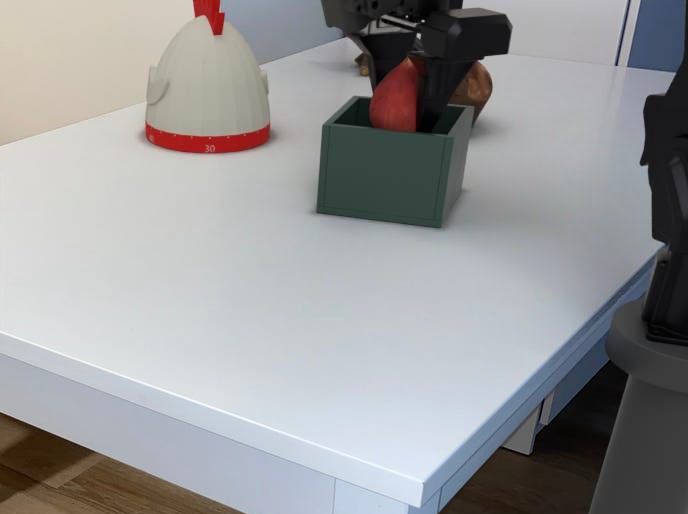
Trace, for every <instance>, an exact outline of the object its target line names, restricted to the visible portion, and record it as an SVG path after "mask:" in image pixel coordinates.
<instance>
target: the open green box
mask: <svg viewBox="0 0 688 514" xmlns="http://www.w3.org/2000/svg"><path fill="white" fill-rule="evenodd" d="M371 98H372V96H366V95H356V94H355V95H352V97H351V98H350V99H348V100H347V101H346V102H345V103H344V104H343V105H342V106H341V107H340V108H339V109H338V110H337V111H335V112H334V113H333V114H332V115H331V116H330V117H329V118H328V119H327V120H326V121H325V122H323V124H322V125H321V139H320V153H319V166H318V180H317V193H316V207H315V212H316V213H317V214H318V213H319V214H326V215H334V216H342V217H349V218H350V217H351V218H357V219H367V220H373V221H380V222H382V221H383V222H390V223H397V224H406V225H414V226H422V227H430V228H437V229H441V228H442V226H443V224H444V222H445V221H446V219H447V217H448V215H449V213H450V212H451V210H452V208H453V206H454V204H455V202H456V200H457V199H458V197H459V196H460V193H461V191H462V188H463V182H464V177H465V170H466V163H467V158H468V151H469V144H470V138H471V131H472V129H471V126H472V120H473V113H474V106H466V105H455V104H448V105H447V106H446V108H445V110H444V111H443V113H442V115H441V116H440V118H439V120H438V121H437V123H436V125H435V126H434V128H433V130H432V132H431V133H422V132H412V131H402V130H392V129H382V128H373V125H372V123H371V120H370V103H371Z"/></svg>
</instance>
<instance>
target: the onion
mask: <svg viewBox="0 0 688 514" xmlns="http://www.w3.org/2000/svg"><path fill="white" fill-rule="evenodd" d="M417 82H418V72H417V70H416V68H415V67H414V65H413V64H412V62H411V61H410V59H409V58H408V56H407V58H406V59H405V60H404V61H402V62H401V63H400V64H399V65H398V66H397V67H395V68H394V69H393V70H392V71H390V72H389V73H388V74H387V75H386V76H385V77H384V78H383V80H382V81H381V82H380V83H379V84H378V86H377V87H376V89H375V91H374V93H372V96H371V97H372V98H371V103H370V120H371V123H372V125H373V128H382V129H392V130H402V131H412V132H416V102H417Z"/></svg>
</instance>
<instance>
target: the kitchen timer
mask: <svg viewBox="0 0 688 514" xmlns="http://www.w3.org/2000/svg"><path fill="white" fill-rule="evenodd" d="M192 7H193V13H194V14H193V15H194V18H192V19H191V20H189V21H188V22H187V23H186V24H184V25H183V26H182V27H180V29H179V30H178V31H177V32H176V33H175V35H174V36H173V37H172V38H171V40H170V41H169V43H168V44H167V46H166V48H165V49H164V51H163V52H162V54H161V57H160V59H159V61H158V63H157V66H153V65H150V66H149V71H148V79H147V85H146V96H145V97H146V107H145V118H144V121H145V123H144V125H145V128H144V129H145V136H146V140H147V141H149V142H150V143H152V144H153V145H155V146H157V147H161V148H164V149H167V150H174V151H179V152H185V153H197V154H198V153H199V154H220V153H221V154H222V153H231V152H233V153H234V152H240V151H245V150H249V149H254V148H257V147H259V146H262V145H264V144H265V143H267V142H268V141H269V140H270V136H271V109H270V102H269V97H268V95H269V93H270V92H269V91H270V90H269V80H268V71H267V69H263V70H261V67H260V64H259V62H258V60H257V57H256V56H255V53H254V52H253V50H252V49H251V47H250V45H249V43H248V42H247V41H246V39H245V38H244V36H243V35H242V34H241V32H239V31H238V30H237V29H236V28H235V26H233V25H232V24H231V23H229V22H228V21H227V20H225V18H226V12H223V11H222V12H221V0H192Z"/></svg>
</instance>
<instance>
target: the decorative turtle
mask: <svg viewBox="0 0 688 514" xmlns="http://www.w3.org/2000/svg"><path fill="white" fill-rule="evenodd" d="M493 85H494V84H493V79H492V76H491V74H490V72H489V70H487V68H486V67H485V65H483V64H482V62H480V60H478V61H476V63H475V64H474V66H473V67H472V69H471V70H470V71H469V73H468V74H467V76H466V77H465V78H464V80H463V81H462V83H461V84H460V86H459V87H458V89H457V90H456V92H455V93H454V95H453V97H452V98H451V100H450V101H449V103H448V104H455V105H466V106H474V113H473V120H472V126H471V130H472V129H473V128H474V126H475V124H476V122H477V120H478V118H479V116H480V114H481V113H482V111H483V110H484V108H485V106H486V104H487V103H488V102H489V100H490V98H491V96H492V94H493V89H494V86H493Z"/></svg>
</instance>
